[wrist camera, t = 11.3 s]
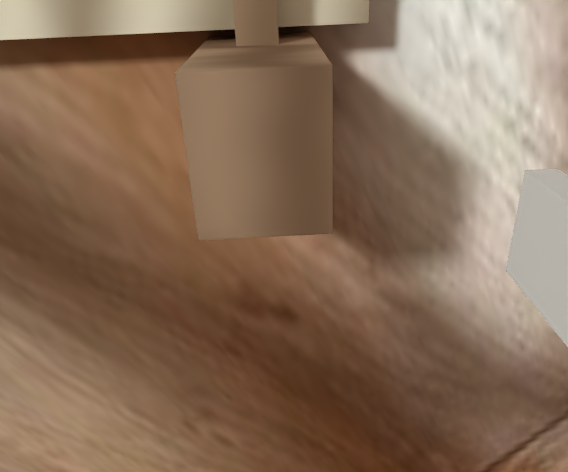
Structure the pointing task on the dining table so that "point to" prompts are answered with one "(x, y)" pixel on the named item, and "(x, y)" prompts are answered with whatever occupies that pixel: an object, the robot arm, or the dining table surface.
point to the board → (157, 16)
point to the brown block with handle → (258, 130)
